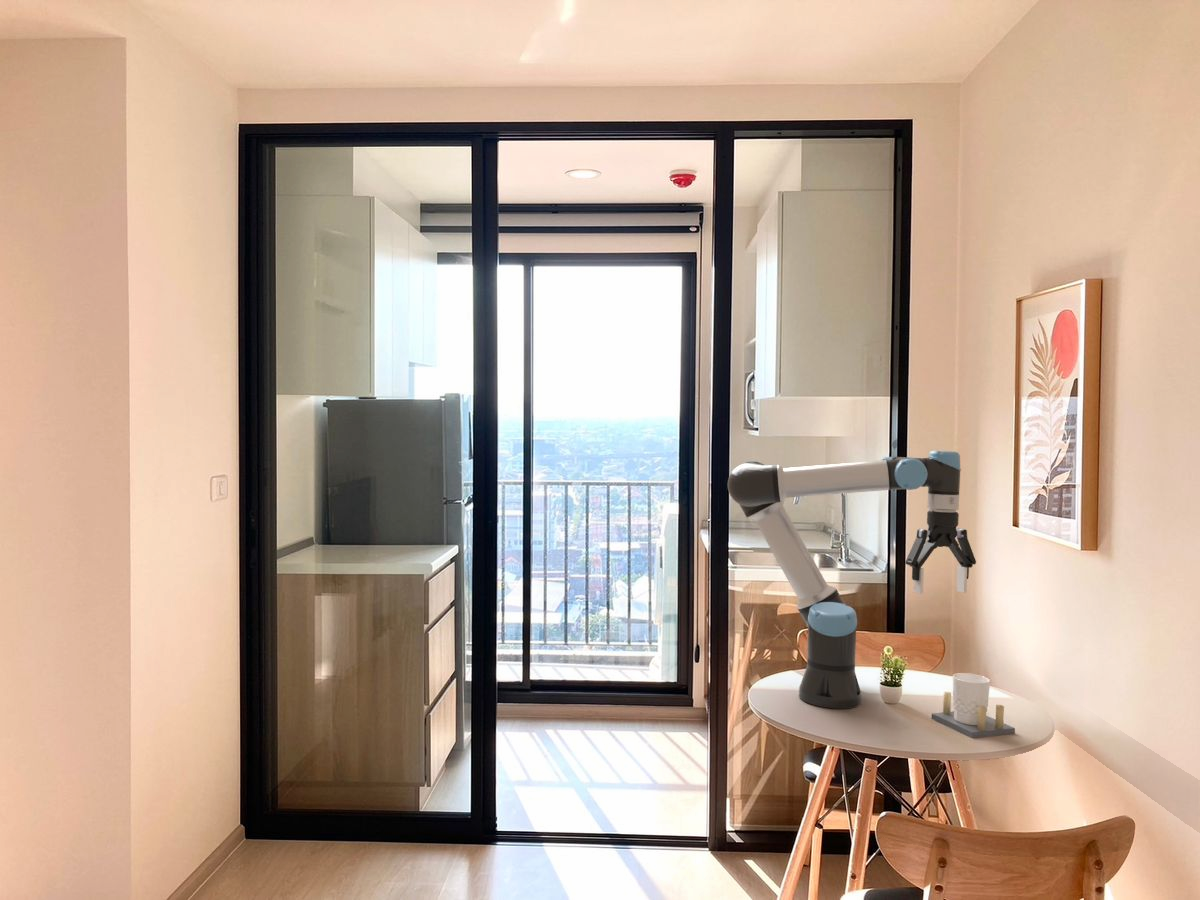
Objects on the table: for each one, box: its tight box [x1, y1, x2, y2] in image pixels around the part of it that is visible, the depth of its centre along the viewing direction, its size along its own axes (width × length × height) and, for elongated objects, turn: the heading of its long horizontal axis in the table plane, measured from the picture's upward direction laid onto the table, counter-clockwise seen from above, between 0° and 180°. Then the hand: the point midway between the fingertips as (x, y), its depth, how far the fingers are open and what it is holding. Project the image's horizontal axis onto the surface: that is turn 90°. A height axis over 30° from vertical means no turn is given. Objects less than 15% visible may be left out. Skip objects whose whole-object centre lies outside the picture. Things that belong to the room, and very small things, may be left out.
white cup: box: [952, 672, 991, 726], centre depth 192 cm, size 8×8×10 cm
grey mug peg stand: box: [931, 691, 1016, 739], centre depth 192 cm, size 12×13×6 cm
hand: (939, 592), depth 215 cm, fingers open, 13 cm apart
